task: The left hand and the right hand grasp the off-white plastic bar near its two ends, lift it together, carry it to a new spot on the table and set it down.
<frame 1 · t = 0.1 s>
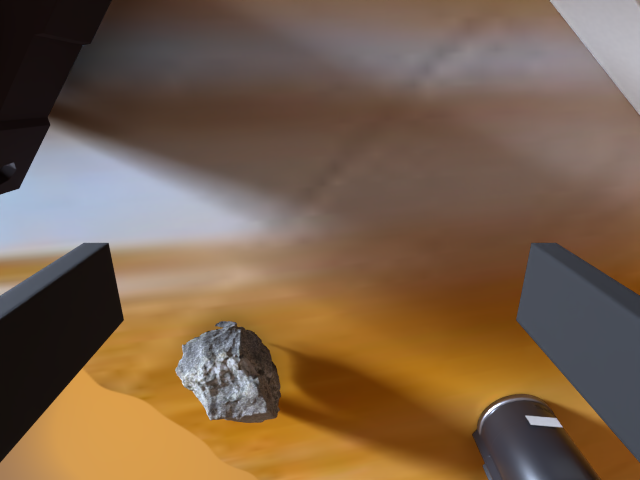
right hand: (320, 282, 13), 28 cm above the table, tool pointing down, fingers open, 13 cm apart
bar: (631, 53, 36), on the table
rock: (240, 357, 47), on the table
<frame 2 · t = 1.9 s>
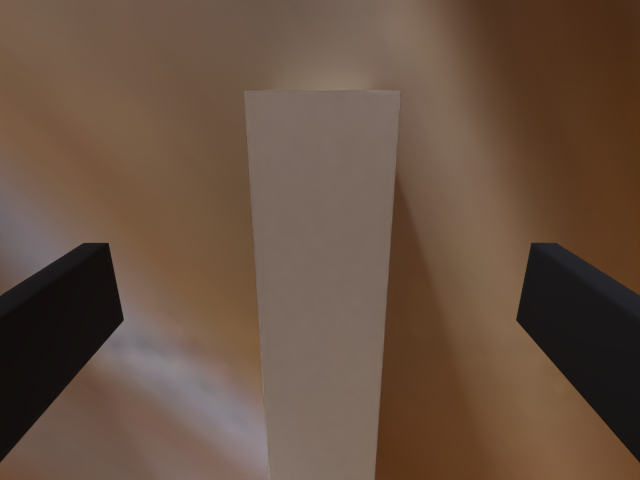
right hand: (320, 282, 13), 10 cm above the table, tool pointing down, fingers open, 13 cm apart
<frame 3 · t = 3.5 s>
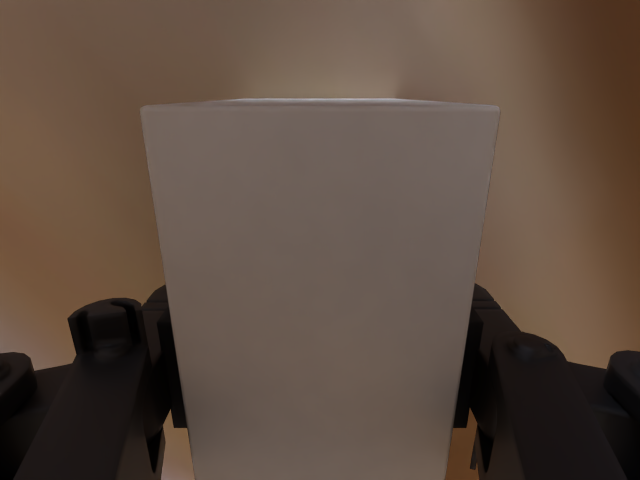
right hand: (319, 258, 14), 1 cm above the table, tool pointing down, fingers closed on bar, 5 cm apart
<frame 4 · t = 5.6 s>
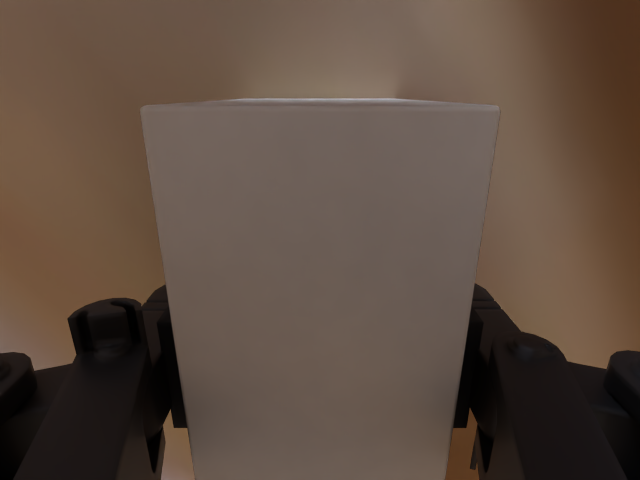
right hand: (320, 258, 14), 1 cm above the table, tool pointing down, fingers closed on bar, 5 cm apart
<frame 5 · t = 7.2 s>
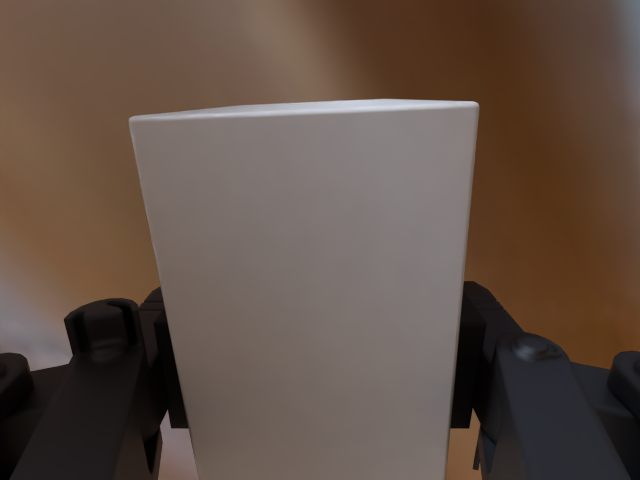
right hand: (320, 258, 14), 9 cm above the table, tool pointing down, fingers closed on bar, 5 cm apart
when the right hand's fingers open (2 cm above the table, at t = 9.1 s): bar drops 1 cm, on the table.
when the left hand's fingers open (4 cm above the table, at t = 9.3 s): bar stays where it is, on the table.
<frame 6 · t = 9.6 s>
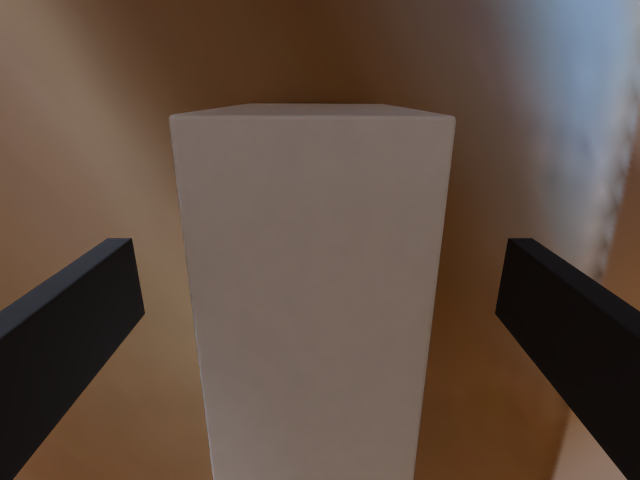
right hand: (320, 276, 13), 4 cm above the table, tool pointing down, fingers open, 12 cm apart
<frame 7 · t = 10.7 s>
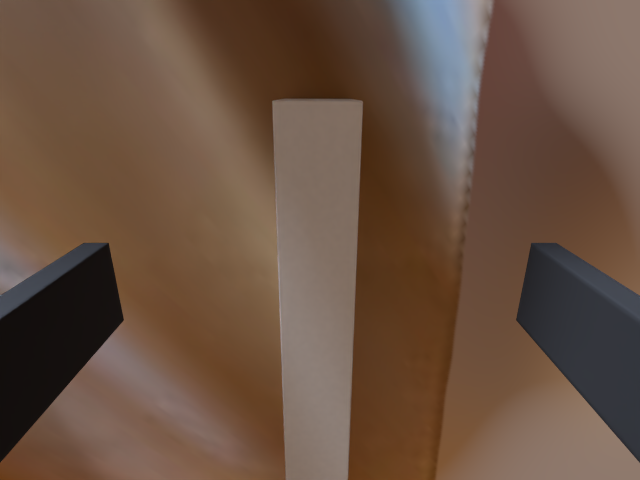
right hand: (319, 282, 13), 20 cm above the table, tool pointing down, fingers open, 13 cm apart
bar: (317, 400, 39), on the table
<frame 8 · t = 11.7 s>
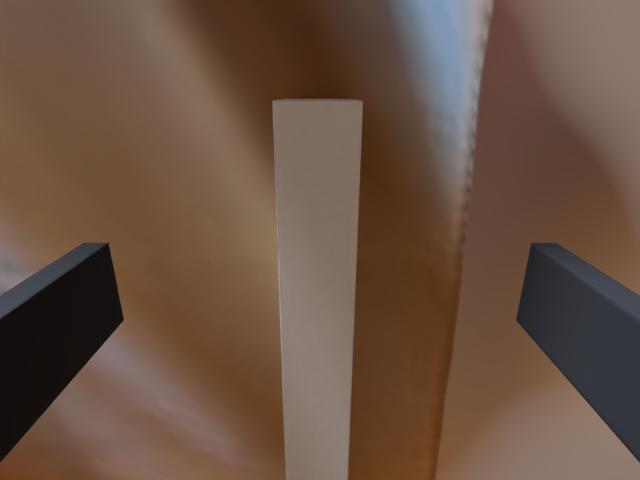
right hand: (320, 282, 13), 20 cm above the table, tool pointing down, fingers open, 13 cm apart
bar: (317, 400, 39), on the table
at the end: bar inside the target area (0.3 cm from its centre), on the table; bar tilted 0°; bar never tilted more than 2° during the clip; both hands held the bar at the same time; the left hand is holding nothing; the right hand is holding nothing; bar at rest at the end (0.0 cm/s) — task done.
